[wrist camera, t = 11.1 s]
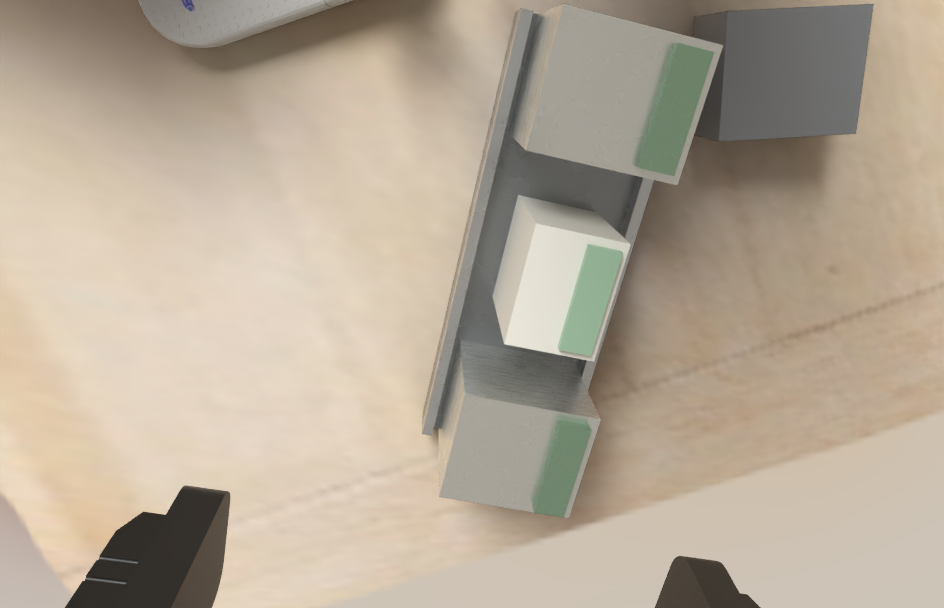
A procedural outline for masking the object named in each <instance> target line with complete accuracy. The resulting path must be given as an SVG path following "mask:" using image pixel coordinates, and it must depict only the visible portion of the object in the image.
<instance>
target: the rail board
mask: <svg viewBox="0 0 944 608" xmlns="http://www.w3.org/2000/svg"><path fill="white" fill-rule="evenodd" d="M722 48H723V45H720V44H717V43H713V42H709V41H705V40H701V39H697V38H694V37H690V36H686V35H682V34H678V33H674V32H670V31H667V30H663V29H659V28H655V27H651V26H647V25H644V24H640V23H636V22H632V21H628V20H624V19H621V18H617V17H613V16H609V15H605V14H601V13H597V12H594V11H590V10H586V9H582V8H578V7H574V6H571V5H567V4H561V5H559V6H557V7H554V8H552V9H550V10H548V11H546V12H543V13H541V14H539V15H537V14H534V13H533V11H530V10H526V9H522V8H521V9H520V10H518V11H516V13H515V18H514V22H513V26H512V31H511V35H510V39H509V44H508V48H507V52H506V56H505V61H504V65H503V69H502V74H501V78H500V82H499V87H498V91H497V95H496V100H495V104H494V108H493V113H492V117H491V121H490V126H489V130H488V134H487V139H486V143H485V147H484V151H483V156H482V160H481V164H480V169H479V173H478V177H477V182H476V186H475V190H474V195H473V199H472V203H471V208H470V212H469V216H468V221H467V225H466V229H465V234H464V238H463V242H462V246H461V251H460V255H459V259H458V264H457V268H456V272H455V277H454V281H453V285H452V290H451V294H450V298H449V303H448V307H447V311H446V316H445V320H444V324H443V329H442V333H441V337H440V341H439V346H438V350H437V354H436V359H435V363H434V367H433V372H432V376H431V380H430V385H429V389H428V393H427V398H426V402H425V406H424V411H423V422H422V434H425V435H431V436H432V433H433V429H434V428H438V437H439V497H443V498H449V499H455V500H461V501H467V502H473V503H479V504H485V505H491V506H497V507H503V508H510V509H516V510H522V511H528V512H534V513H539V514H545V515H551V516H557V517H563V518H569V516H570V513H571V510H572V507H573V504H574V501H575V498H576V495H577V492H578V489H579V485H580V482H581V479H582V476H583V473H584V470H585V467H586V464H587V461H588V458H589V455H590V452H591V449H592V446H593V443H594V440H595V436H596V433H597V430H598V427H599V424H600V421H601V418H600V416H599V414H598V412H597V410H596V408H595V405H594V403H593V401H592V399H591V397H590V395H589V393H588V389H589V386H590V382H591V379H592V376H593V373H594V370H595V367H596V363H597V360H598V357H599V354H600V351H601V347H602V344H603V341H604V338H605V335H606V332H607V328H608V325H609V322H610V319H611V316H612V313H613V309H614V306H615V303H616V300H617V297H618V293H619V290H620V287H621V284H622V281H623V278H624V274H625V271H626V268H627V265H628V262H629V259H630V255H631V252H632V249H633V246H634V243H635V240H636V236H637V233H638V230H639V227H640V224H641V220H642V217H643V214H644V211H645V208H646V205H647V201H648V198H649V195H650V192H651V189H652V186H653V182H654V180H656V181H660V182H665V183H669V184H673V185H678V182H679V179H680V176H681V173H682V170H683V167H684V164H685V161H686V158H687V155H688V152H689V149H690V146H691V143H692V140H693V137H694V133H695V130H696V127H697V124H698V121H699V118H700V115H701V112H702V109H703V106H704V103H705V100H706V97H707V94H708V91H709V88H710V85H711V81H712V78H713V75H714V72H715V69H716V66H717V63H718V60H719V57H720V54H721V51H722ZM518 195H521V196H525V197H530V198H534V199H539V200H543V201H548V202H552V203H557V204H561V205H566V206H570V207H575V208H579V209H584V210H588V211H593V212H597V213H598V214H599V215H600V216H601V217H602V218H603V219H604V220H605V221H606V222H608V223H609V224H610V225H611V226H612V227H613V228H614V229H615V230H616V231H617V232H618V233H619V234H620V235H621V236H623V237H624V238H625V239H626V240H627V241H628V242H629V243H630V244H631V245H630V248H629V251H628V254H627V258H626V261H625V264H624V267H623V270H622V274H621V277H620V280H619V283H618V286H617V289H616V293H615V296H614V299H613V302H612V305H611V309H610V312H609V315H608V318H607V321H606V325H605V328H604V331H603V334H602V337H601V341H600V344H599V347H598V350H597V353H596V357H595V360H594V362H593V361H588V360H583V359H578V358H573V357H568V356H562V355H557V354H552V353H547V352H542V351H537V350H531V349H526V348H521V347H516V346H511V345H506V344H504V342H503V338H502V334H501V329H500V325H499V321H498V317H497V313H496V309H495V305H494V301H493V297H492V296H493V292H494V289H495V285H496V281H497V277H498V273H499V269H500V265H501V261H502V257H503V253H504V249H505V245H506V241H507V237H508V233H509V229H510V225H511V221H512V217H513V213H514V209H515V205H516V201H517V197H518Z"/></svg>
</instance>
